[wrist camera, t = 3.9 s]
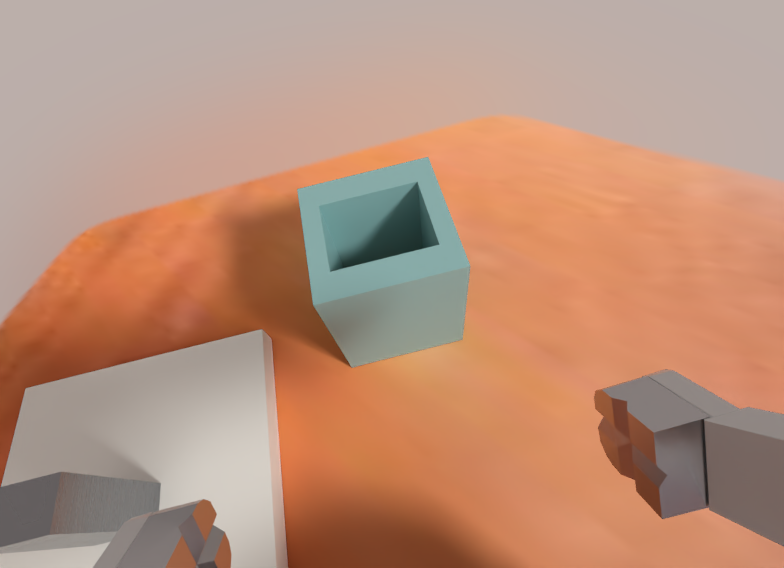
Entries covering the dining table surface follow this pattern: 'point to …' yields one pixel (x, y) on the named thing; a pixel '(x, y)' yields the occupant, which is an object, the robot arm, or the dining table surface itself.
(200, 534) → the robot arm
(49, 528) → the grey rectangular block
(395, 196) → the teal square hollow box
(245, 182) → the dining table surface
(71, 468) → the board
